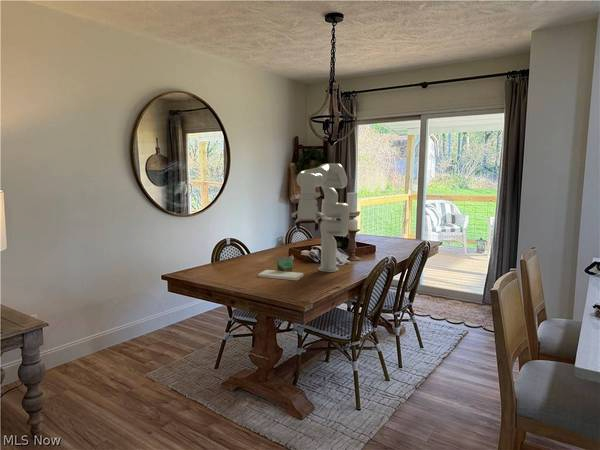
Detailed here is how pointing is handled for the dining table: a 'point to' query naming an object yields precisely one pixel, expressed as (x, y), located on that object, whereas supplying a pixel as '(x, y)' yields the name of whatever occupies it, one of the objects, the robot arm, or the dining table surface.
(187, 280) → the dining table surface
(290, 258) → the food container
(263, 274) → the cutting board
